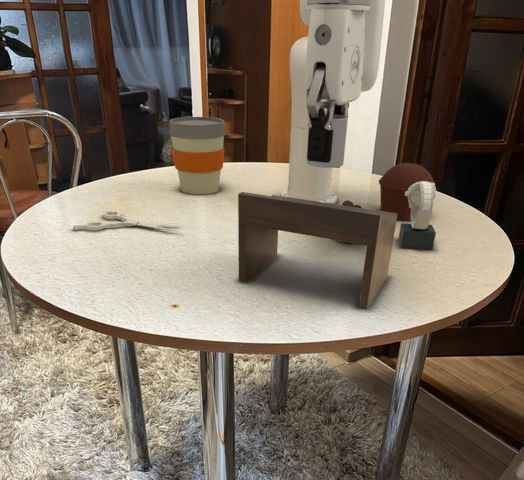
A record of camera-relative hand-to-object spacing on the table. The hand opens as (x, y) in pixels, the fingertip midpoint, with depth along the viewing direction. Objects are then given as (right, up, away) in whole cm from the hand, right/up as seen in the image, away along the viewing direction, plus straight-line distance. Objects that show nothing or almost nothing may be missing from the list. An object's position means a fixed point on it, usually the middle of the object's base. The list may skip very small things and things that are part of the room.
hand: (325, 156), depth 70 cm
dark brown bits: (+7, -7, +24) cm, 26 cm away
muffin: (+21, +2, +38) cm, 43 cm away
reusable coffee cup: (-24, +11, +51) cm, 58 cm away
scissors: (-33, -3, +28) cm, 43 cm away
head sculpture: (+19, -8, +23) cm, 31 cm away
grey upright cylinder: (0, -1, +1) cm, 1 cm away
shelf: (-1, -16, +9) cm, 18 cm away
